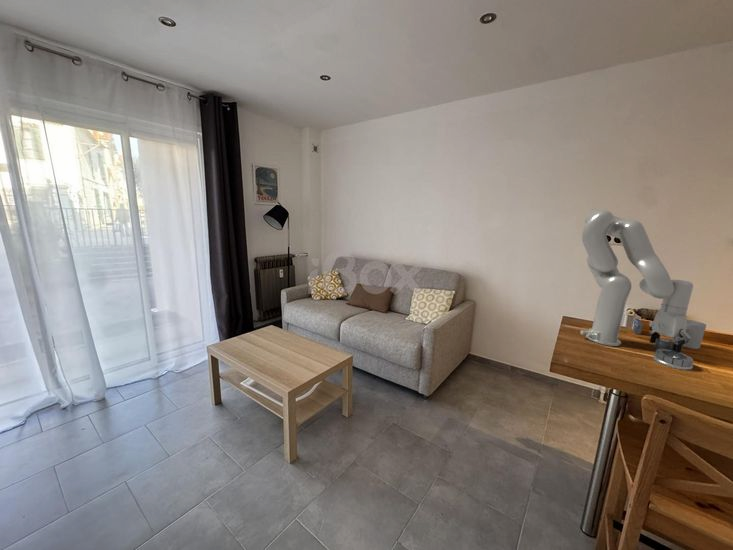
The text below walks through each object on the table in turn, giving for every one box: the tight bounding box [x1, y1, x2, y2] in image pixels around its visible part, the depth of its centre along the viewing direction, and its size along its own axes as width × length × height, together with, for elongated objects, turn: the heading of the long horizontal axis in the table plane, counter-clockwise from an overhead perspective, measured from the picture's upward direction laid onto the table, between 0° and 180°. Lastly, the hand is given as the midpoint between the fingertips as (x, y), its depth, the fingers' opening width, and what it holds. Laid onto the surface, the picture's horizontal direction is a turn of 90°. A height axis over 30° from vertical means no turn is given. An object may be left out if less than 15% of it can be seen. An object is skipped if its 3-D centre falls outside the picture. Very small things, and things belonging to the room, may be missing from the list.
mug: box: [672, 319, 707, 350], centre depth 133 cm, size 12×8×11 cm
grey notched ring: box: [652, 349, 694, 371], centre depth 116 cm, size 11×11×4 cm
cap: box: [653, 337, 674, 352], centre depth 127 cm, size 5×5×5 cm
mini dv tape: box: [630, 318, 644, 336], centre depth 148 cm, size 8×2×6 cm, turn 152°
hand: (664, 347), depth 126 cm, fingers open, 9 cm apart
